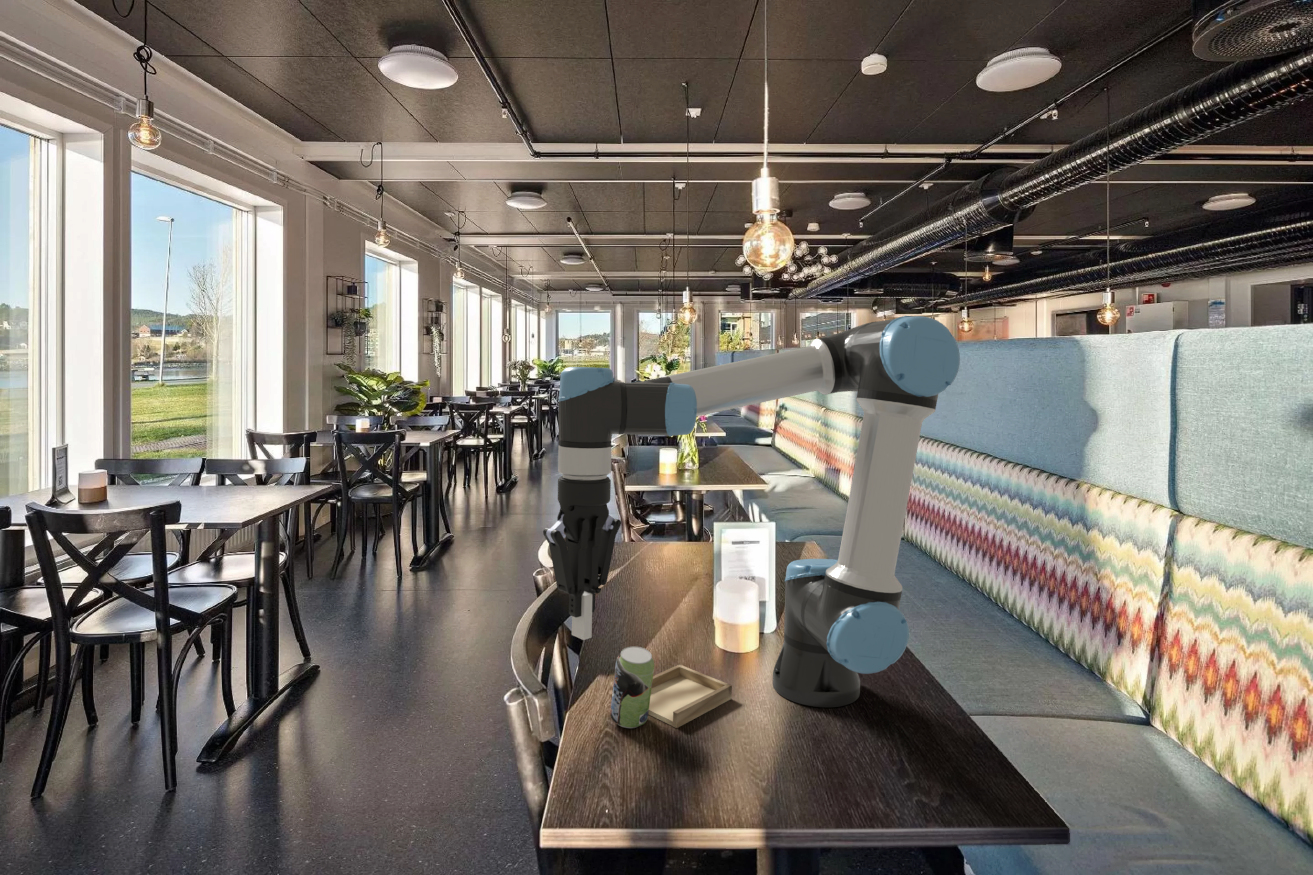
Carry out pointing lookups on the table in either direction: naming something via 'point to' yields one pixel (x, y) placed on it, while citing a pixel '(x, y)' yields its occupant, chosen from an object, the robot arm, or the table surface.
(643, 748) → the table surface
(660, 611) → the table surface
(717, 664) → the table surface
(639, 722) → the beverage can
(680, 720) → the beige tray
